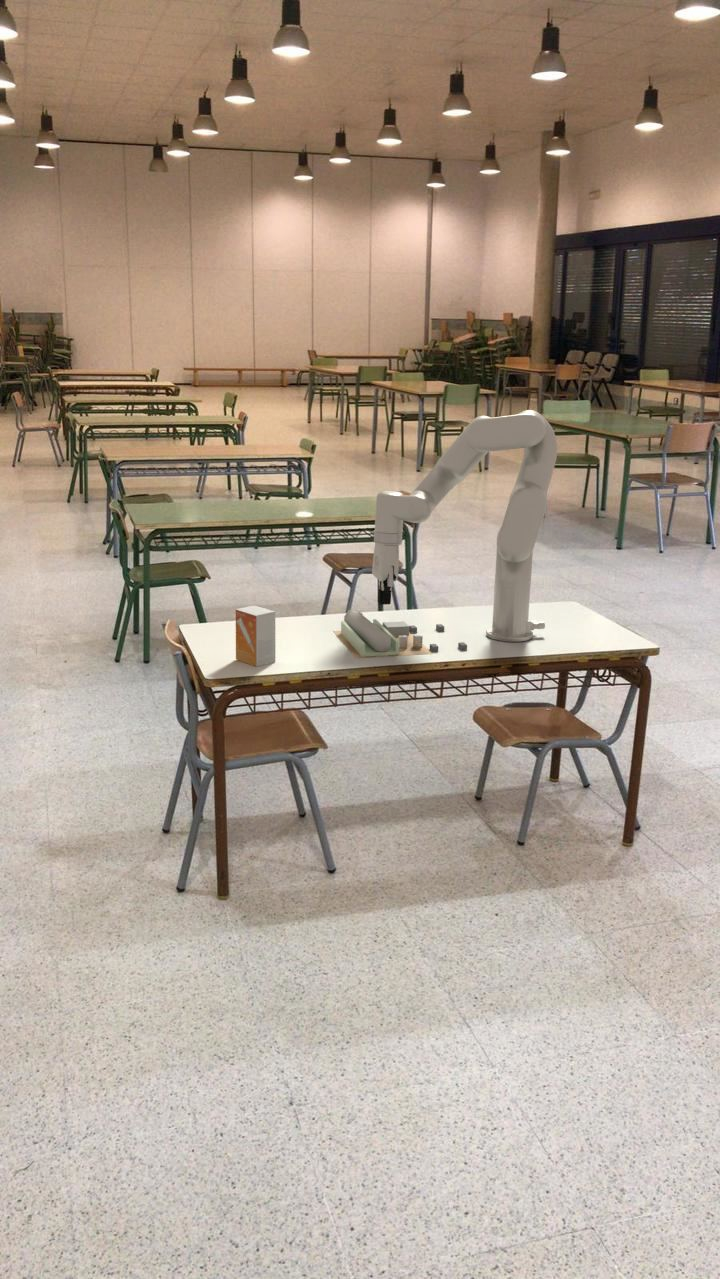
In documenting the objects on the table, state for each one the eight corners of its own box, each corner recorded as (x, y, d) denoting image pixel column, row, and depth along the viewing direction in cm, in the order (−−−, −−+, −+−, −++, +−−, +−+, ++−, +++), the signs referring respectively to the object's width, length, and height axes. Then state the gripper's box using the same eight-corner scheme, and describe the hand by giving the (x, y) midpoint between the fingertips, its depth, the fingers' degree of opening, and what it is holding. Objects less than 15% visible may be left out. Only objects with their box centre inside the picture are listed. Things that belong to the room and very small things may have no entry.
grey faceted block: (403, 630, 293) (404, 621, 292) (409, 635, 288) (409, 626, 288) (382, 631, 291) (382, 622, 291) (387, 636, 287) (387, 627, 286)
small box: (235, 660, 268) (234, 608, 264) (255, 655, 272) (254, 604, 269) (256, 667, 262) (256, 615, 259) (276, 662, 267) (276, 611, 263)
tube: (397, 637, 268) (365, 611, 291) (378, 632, 266) (347, 606, 289) (390, 657, 269) (358, 630, 292) (371, 652, 267) (340, 625, 290)
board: (404, 631, 296) (404, 627, 295) (433, 658, 273) (433, 653, 272) (333, 635, 291) (333, 631, 291) (355, 662, 268) (356, 658, 267)
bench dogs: (420, 645, 279) (420, 634, 278) (422, 647, 278) (422, 636, 277) (398, 646, 278) (398, 635, 277) (399, 648, 276) (400, 637, 275)
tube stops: (441, 633, 296) (441, 624, 295) (466, 654, 277) (467, 645, 276) (408, 634, 293) (409, 625, 293) (432, 656, 274) (432, 646, 274)
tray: (375, 631, 291) (376, 619, 291) (398, 654, 271) (399, 641, 270) (341, 632, 289) (341, 620, 288) (361, 656, 269) (361, 643, 268)
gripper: (367, 532, 298) (364, 597, 303) (382, 543, 284) (378, 611, 289) (393, 532, 299) (389, 596, 305) (409, 543, 286) (405, 610, 291)
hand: (384, 603), depth 297 cm, fingers closed
